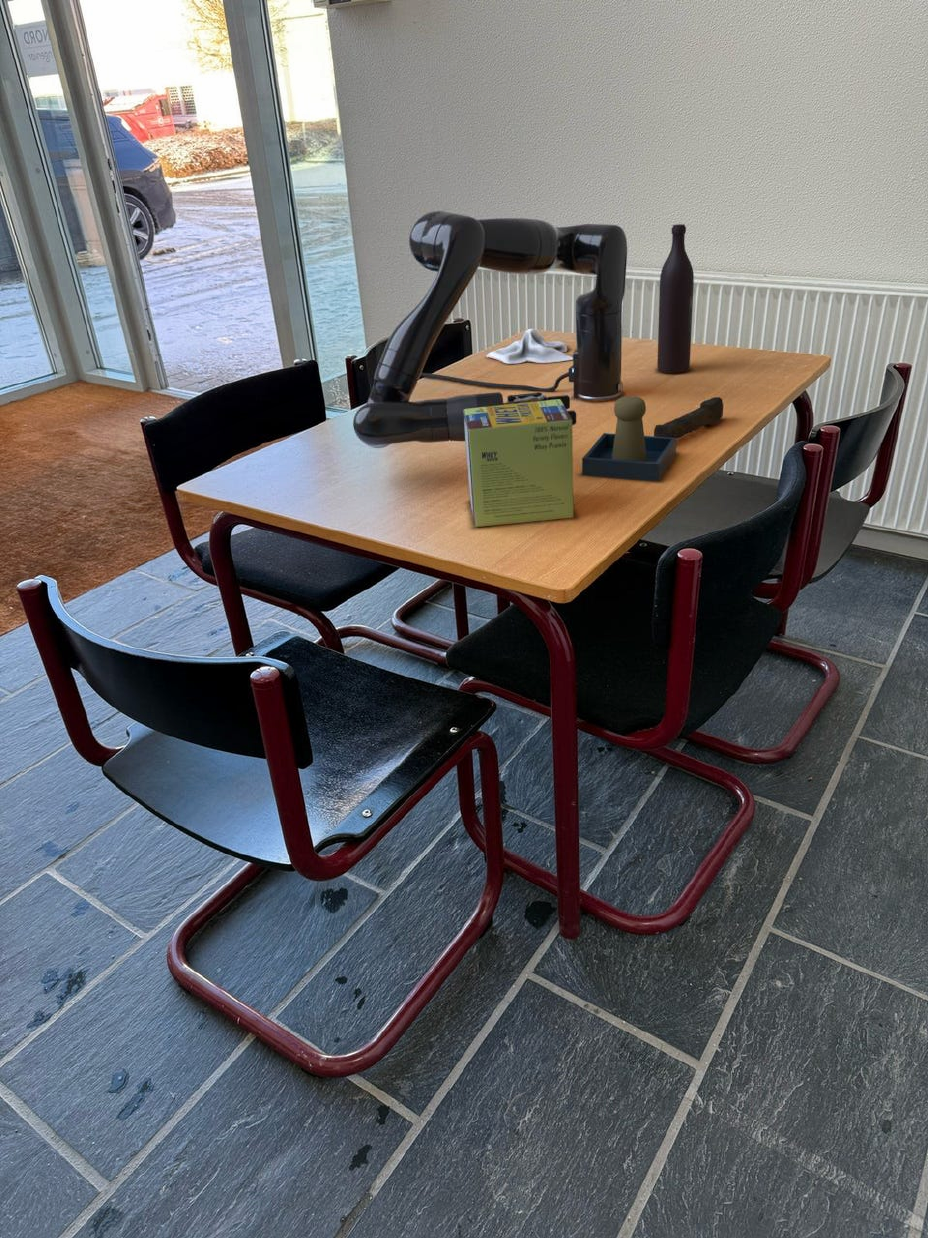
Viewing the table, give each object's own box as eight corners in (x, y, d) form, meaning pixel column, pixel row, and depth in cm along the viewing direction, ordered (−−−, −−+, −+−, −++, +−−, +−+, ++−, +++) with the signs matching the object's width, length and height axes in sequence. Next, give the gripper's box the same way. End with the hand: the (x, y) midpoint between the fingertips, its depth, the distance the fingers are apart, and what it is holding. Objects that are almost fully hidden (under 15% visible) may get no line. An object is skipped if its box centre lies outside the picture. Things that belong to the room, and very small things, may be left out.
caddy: (582, 475, 152) (582, 458, 151) (603, 449, 163) (603, 432, 161) (658, 481, 148) (659, 464, 146) (675, 454, 158) (676, 437, 156)
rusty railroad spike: (670, 449, 160) (671, 423, 158) (652, 444, 163) (653, 418, 160) (734, 421, 170) (736, 397, 168) (716, 417, 173) (718, 393, 171)
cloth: (479, 363, 220) (477, 337, 217) (506, 344, 235) (505, 319, 232) (566, 366, 212) (566, 339, 209) (589, 346, 226) (589, 321, 223)
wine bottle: (692, 373, 199) (699, 225, 184) (660, 375, 200) (664, 228, 185) (686, 364, 205) (692, 221, 190) (654, 366, 206) (658, 224, 191)
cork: (638, 469, 151) (640, 404, 146) (605, 465, 154) (605, 401, 149) (652, 457, 155) (654, 394, 150) (619, 453, 158) (620, 391, 153)
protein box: (575, 518, 138) (573, 418, 130) (474, 528, 137) (467, 429, 129) (563, 492, 147) (561, 397, 139) (468, 501, 146) (461, 407, 138)
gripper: (475, 408, 142) (578, 399, 142) (472, 383, 155) (567, 375, 154) (478, 453, 146) (578, 445, 146) (475, 425, 158) (567, 418, 158)
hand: (572, 409), depth 150 cm, fingers open, 8 cm apart
